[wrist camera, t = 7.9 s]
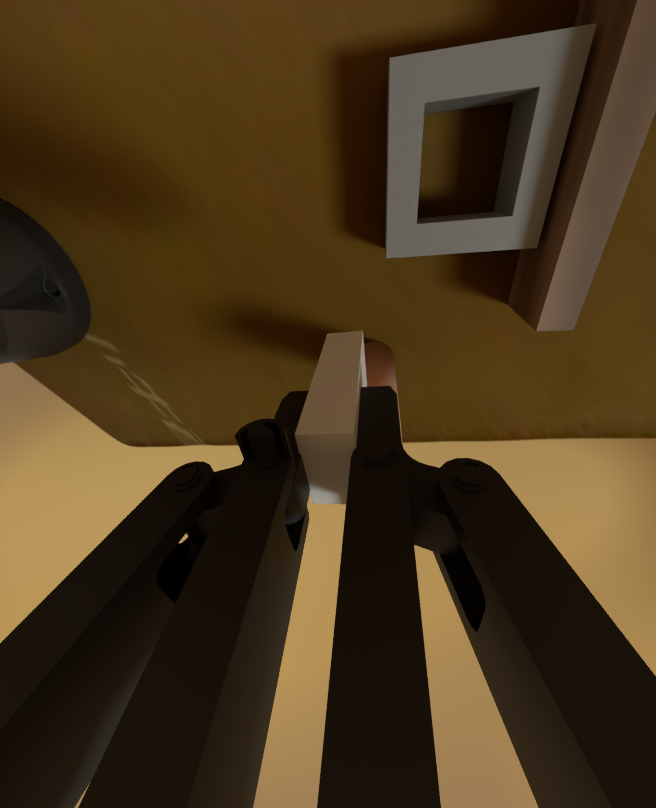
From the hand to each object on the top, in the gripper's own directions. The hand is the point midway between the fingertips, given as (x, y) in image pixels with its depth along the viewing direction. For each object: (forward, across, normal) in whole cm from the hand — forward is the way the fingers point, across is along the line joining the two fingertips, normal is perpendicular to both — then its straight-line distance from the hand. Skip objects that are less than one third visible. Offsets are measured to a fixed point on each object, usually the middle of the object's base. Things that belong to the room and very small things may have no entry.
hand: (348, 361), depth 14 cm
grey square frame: (+17, +7, +6) cm, 19 cm away
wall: (+17, +14, +6) cm, 22 cm away
